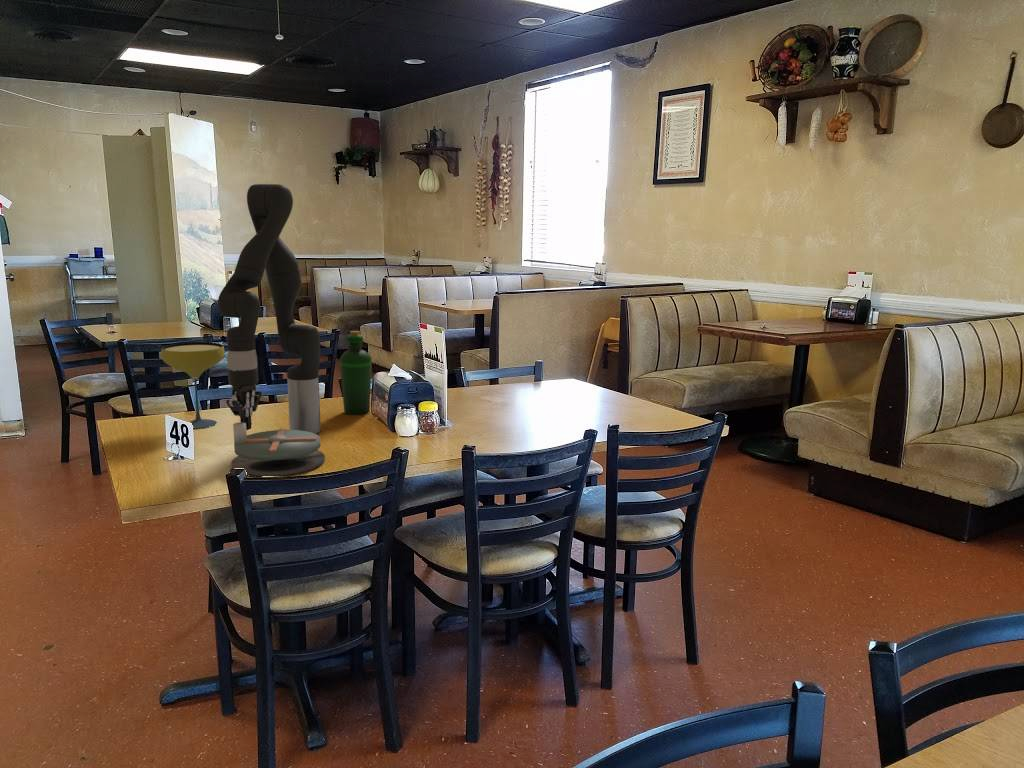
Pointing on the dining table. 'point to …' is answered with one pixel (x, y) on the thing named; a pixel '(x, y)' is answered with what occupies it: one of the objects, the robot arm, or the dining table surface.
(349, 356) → the bottle
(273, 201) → the robot arm
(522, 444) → the dining table surface
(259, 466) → the base
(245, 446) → the handwheel
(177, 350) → the cocktail glass
